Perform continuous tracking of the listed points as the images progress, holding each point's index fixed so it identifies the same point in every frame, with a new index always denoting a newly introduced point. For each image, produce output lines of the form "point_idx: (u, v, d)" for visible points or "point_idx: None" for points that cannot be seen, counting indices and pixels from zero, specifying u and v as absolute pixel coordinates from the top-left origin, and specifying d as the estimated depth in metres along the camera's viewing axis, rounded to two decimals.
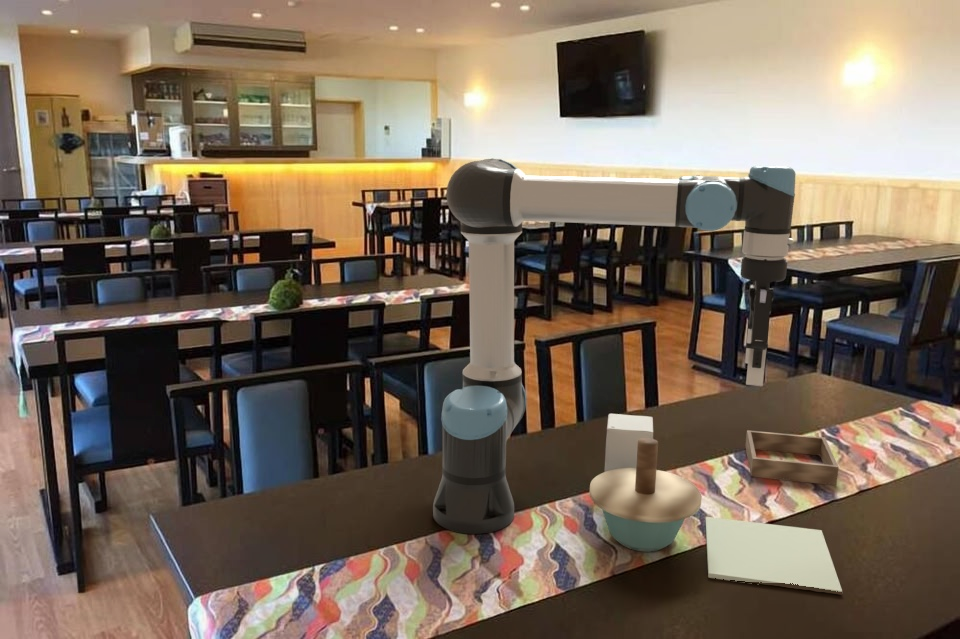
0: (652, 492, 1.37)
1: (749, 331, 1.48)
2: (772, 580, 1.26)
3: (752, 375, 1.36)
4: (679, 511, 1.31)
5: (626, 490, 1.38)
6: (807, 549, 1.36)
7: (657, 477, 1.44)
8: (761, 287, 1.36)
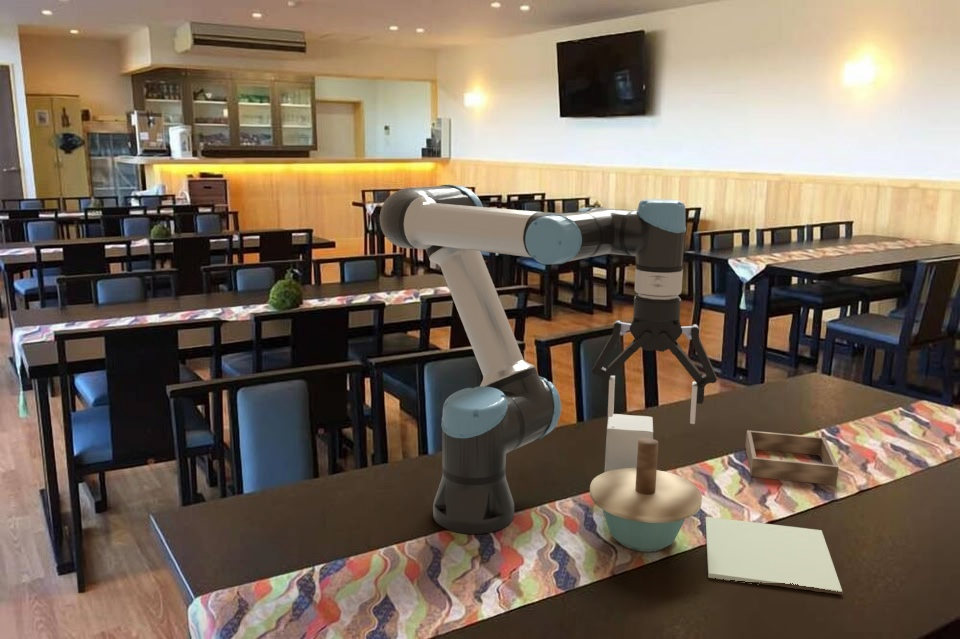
0: (652, 492, 1.37)
1: (692, 383, 1.33)
2: (772, 580, 1.26)
3: None
4: (678, 511, 1.31)
5: (626, 490, 1.38)
6: (807, 549, 1.36)
7: (658, 477, 1.44)
8: None
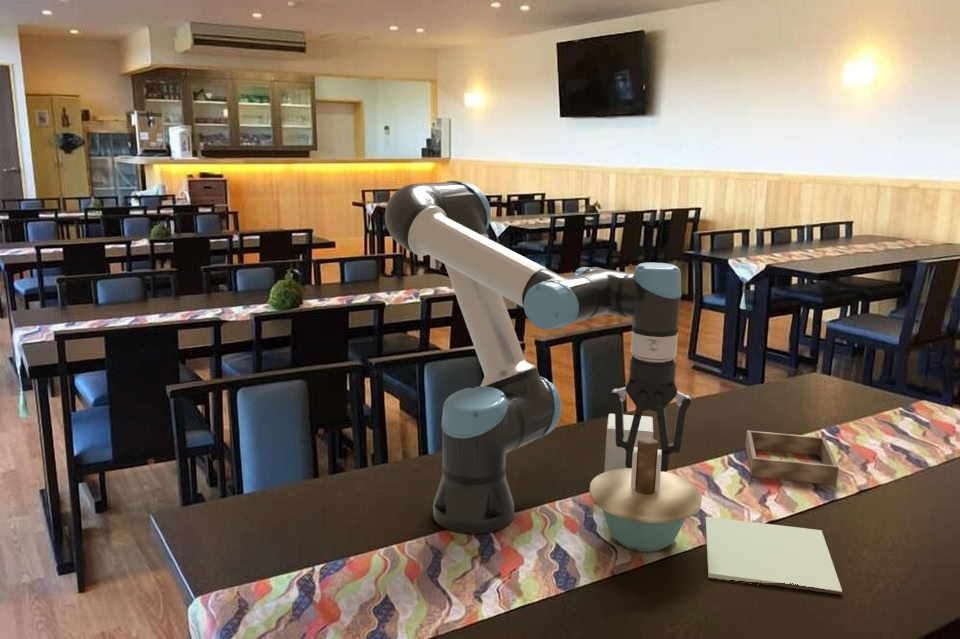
0: (652, 492, 1.37)
1: None
2: (772, 580, 1.26)
3: None
4: (679, 511, 1.31)
5: (626, 490, 1.38)
6: (807, 549, 1.36)
7: None
8: (627, 384, 1.35)
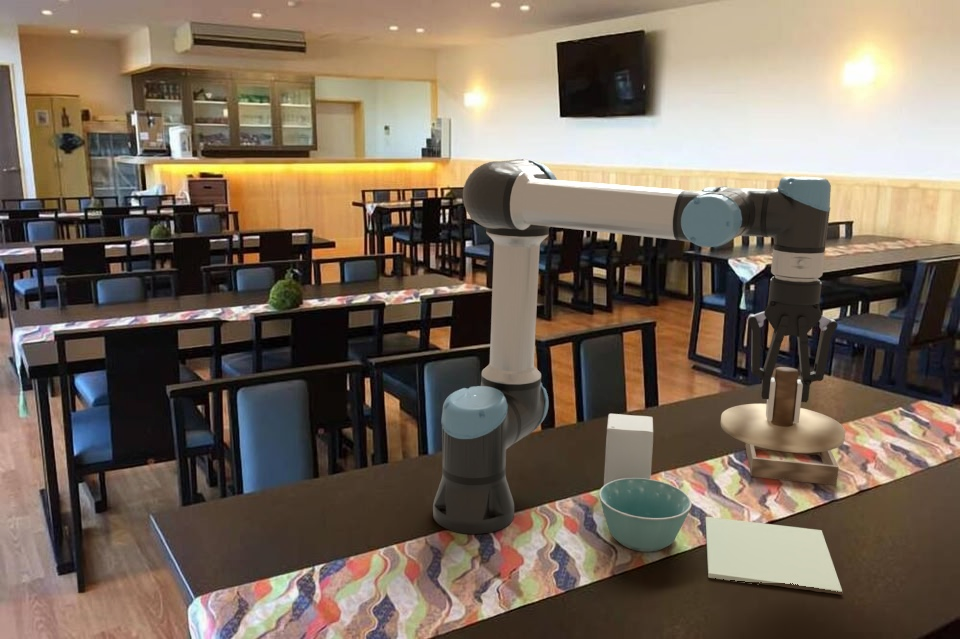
0: (791, 424, 1.28)
1: None
2: (772, 580, 1.26)
3: (767, 406, 1.31)
4: (826, 441, 1.22)
5: (761, 422, 1.30)
6: (807, 549, 1.36)
7: None
8: (765, 308, 1.27)
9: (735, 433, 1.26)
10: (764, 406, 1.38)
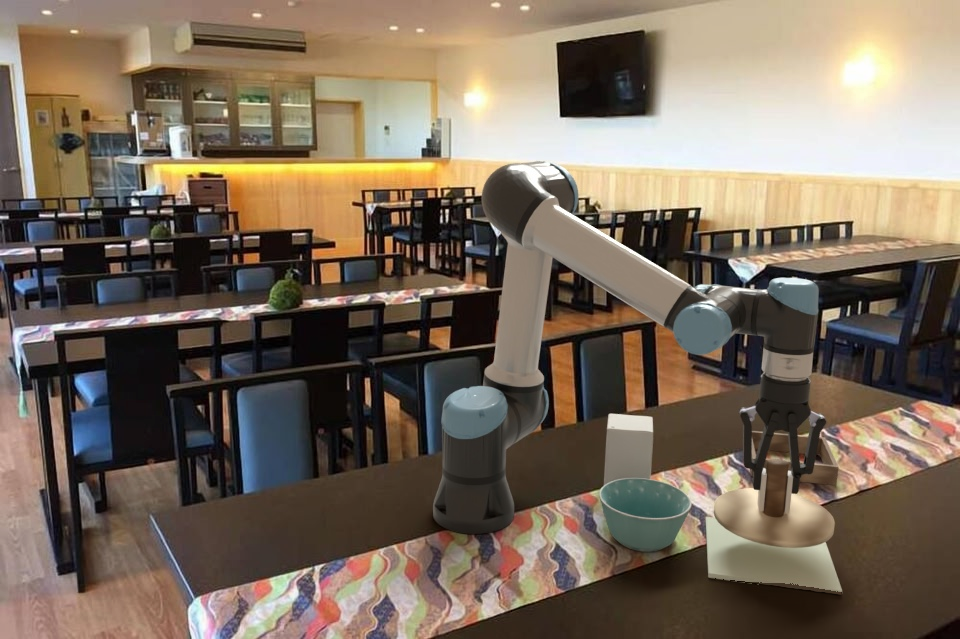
0: (782, 515, 1.32)
1: None
2: (772, 580, 1.26)
3: (758, 496, 1.34)
4: (815, 535, 1.26)
5: (753, 512, 1.33)
6: (807, 549, 1.36)
7: None
8: (756, 403, 1.31)
9: (727, 525, 1.30)
10: (756, 491, 1.41)
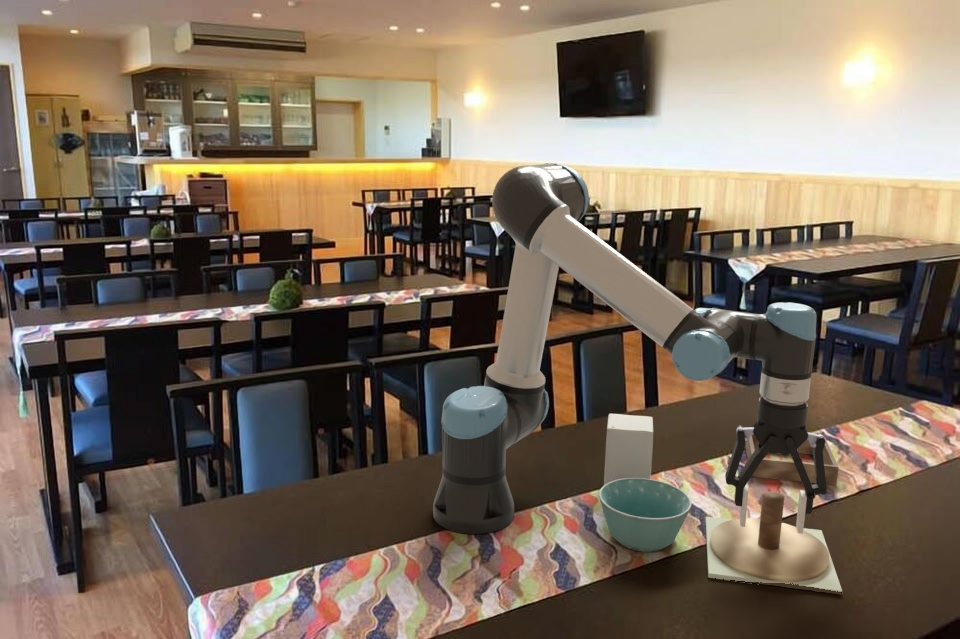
0: (777, 547, 1.34)
1: None
2: None
3: (740, 512, 1.36)
4: (810, 569, 1.27)
5: (749, 544, 1.35)
6: None
7: None
8: (755, 425, 1.31)
9: (723, 558, 1.31)
10: (752, 522, 1.43)
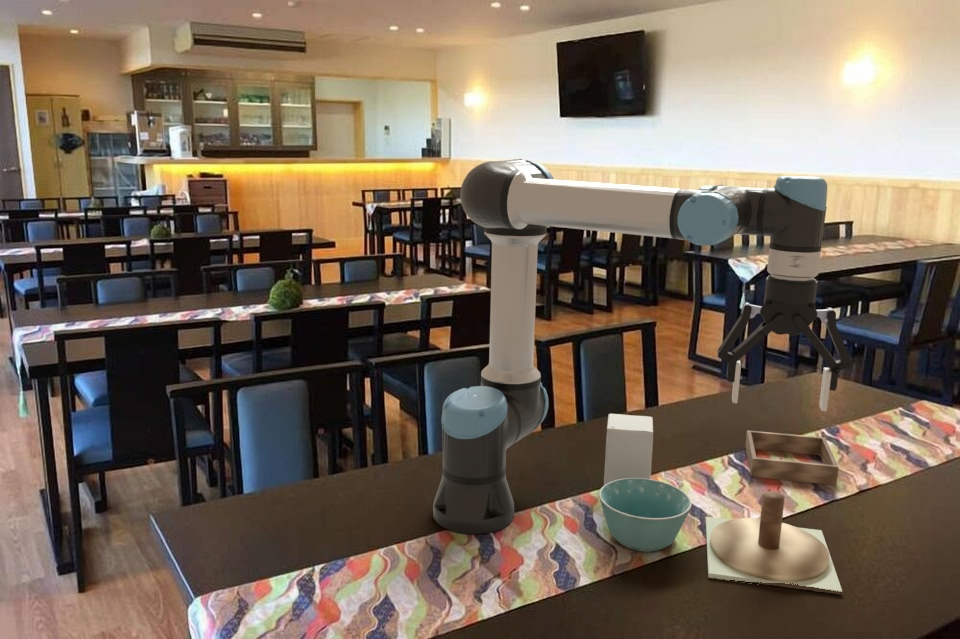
0: (777, 547, 1.34)
1: (823, 369, 1.28)
2: None
3: None
4: (810, 569, 1.27)
5: (749, 544, 1.35)
6: None
7: None
8: (764, 304, 1.27)
9: (723, 557, 1.31)
10: (752, 522, 1.43)
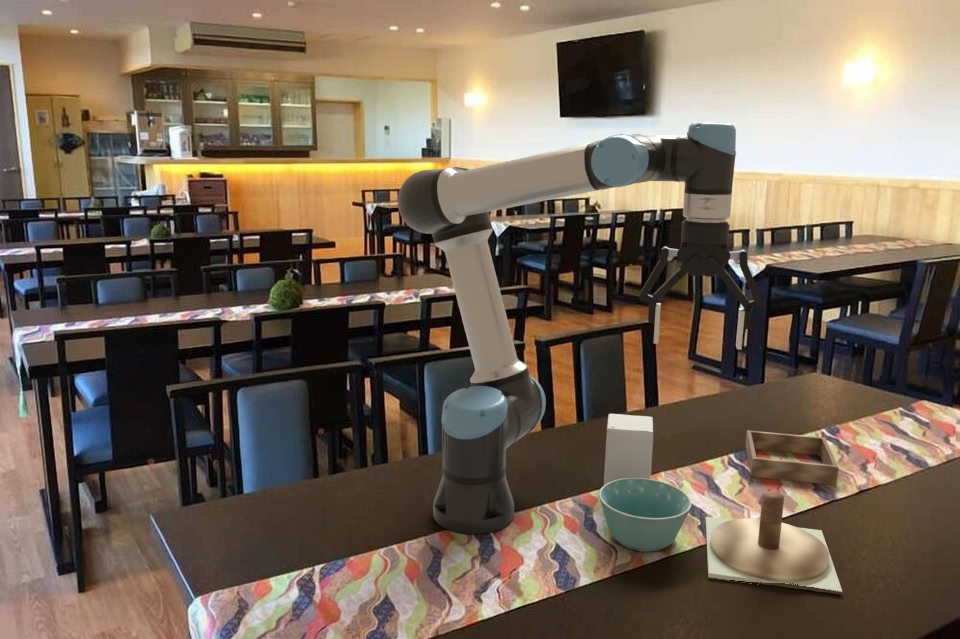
0: (777, 547, 1.34)
1: None
2: None
3: None
4: (810, 569, 1.27)
5: (749, 544, 1.35)
6: None
7: None
8: None
9: (723, 557, 1.31)
10: (752, 522, 1.43)
